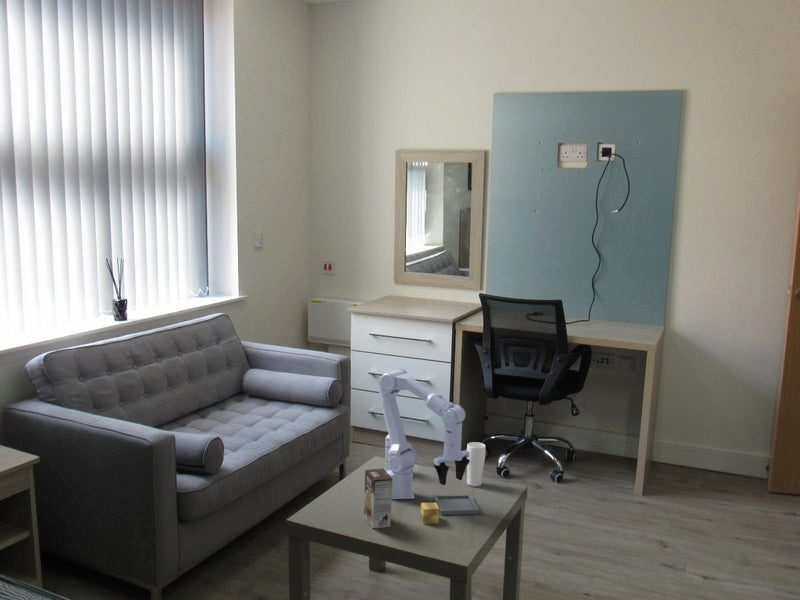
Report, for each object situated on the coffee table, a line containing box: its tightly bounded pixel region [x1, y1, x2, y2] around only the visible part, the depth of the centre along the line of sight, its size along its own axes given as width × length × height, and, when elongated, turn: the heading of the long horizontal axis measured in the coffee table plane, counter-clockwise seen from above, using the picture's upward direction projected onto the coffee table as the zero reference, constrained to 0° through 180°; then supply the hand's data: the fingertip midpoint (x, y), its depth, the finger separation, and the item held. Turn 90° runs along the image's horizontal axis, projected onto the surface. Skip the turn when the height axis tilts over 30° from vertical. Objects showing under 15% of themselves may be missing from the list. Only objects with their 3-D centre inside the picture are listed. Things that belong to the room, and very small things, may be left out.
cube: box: [420, 502, 440, 525], centre depth 231 cm, size 5×5×5 cm
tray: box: [433, 493, 481, 516], centre depth 242 cm, size 13×13×2 cm
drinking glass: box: [466, 441, 486, 488], centre depth 262 cm, size 7×7×15 cm
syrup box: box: [384, 434, 391, 471], centre depth 271 cm, size 6×6×14 cm
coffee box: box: [363, 468, 393, 529], centre depth 228 cm, size 9×6×16 cm
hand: (450, 481), depth 239 cm, fingers open, 7 cm apart
